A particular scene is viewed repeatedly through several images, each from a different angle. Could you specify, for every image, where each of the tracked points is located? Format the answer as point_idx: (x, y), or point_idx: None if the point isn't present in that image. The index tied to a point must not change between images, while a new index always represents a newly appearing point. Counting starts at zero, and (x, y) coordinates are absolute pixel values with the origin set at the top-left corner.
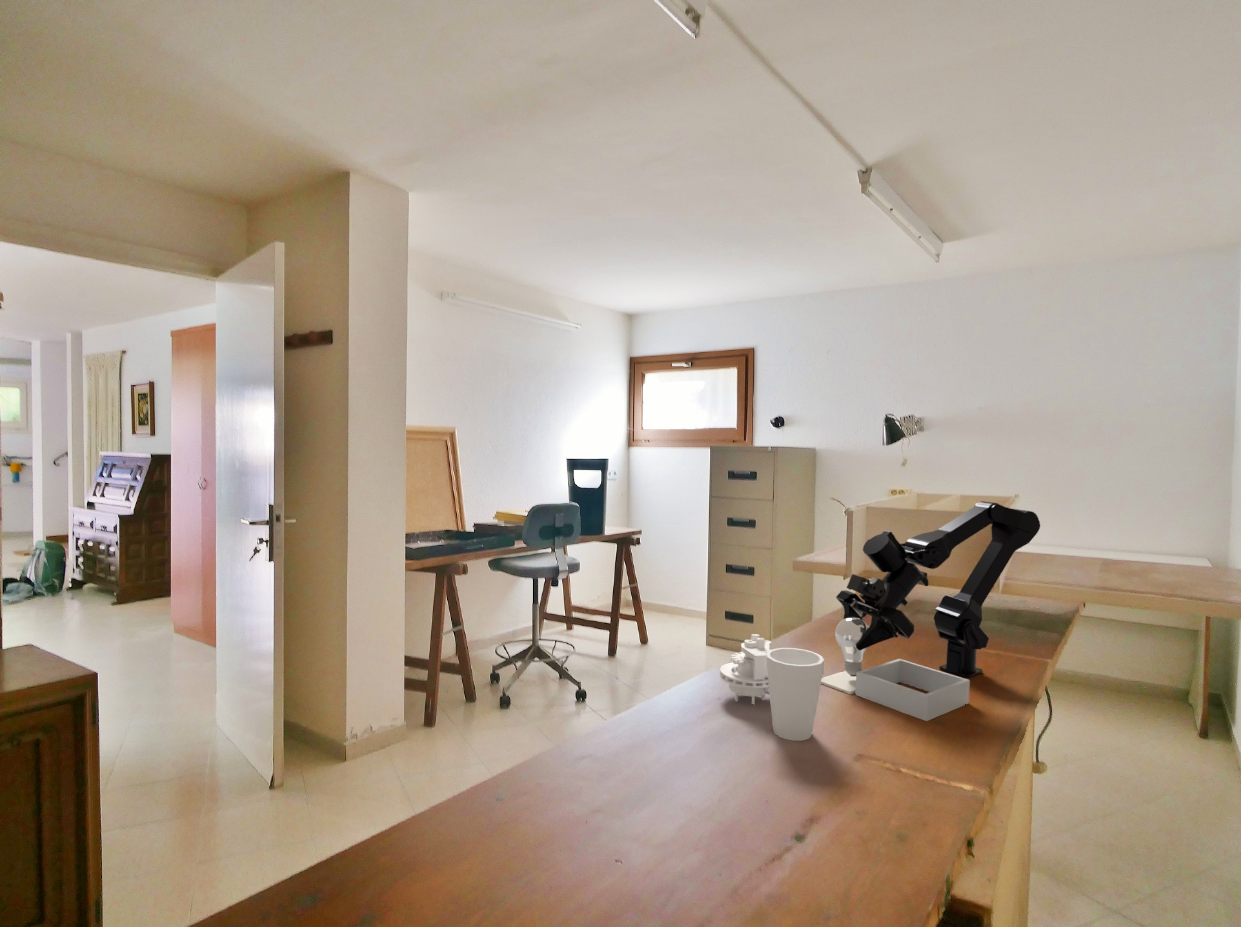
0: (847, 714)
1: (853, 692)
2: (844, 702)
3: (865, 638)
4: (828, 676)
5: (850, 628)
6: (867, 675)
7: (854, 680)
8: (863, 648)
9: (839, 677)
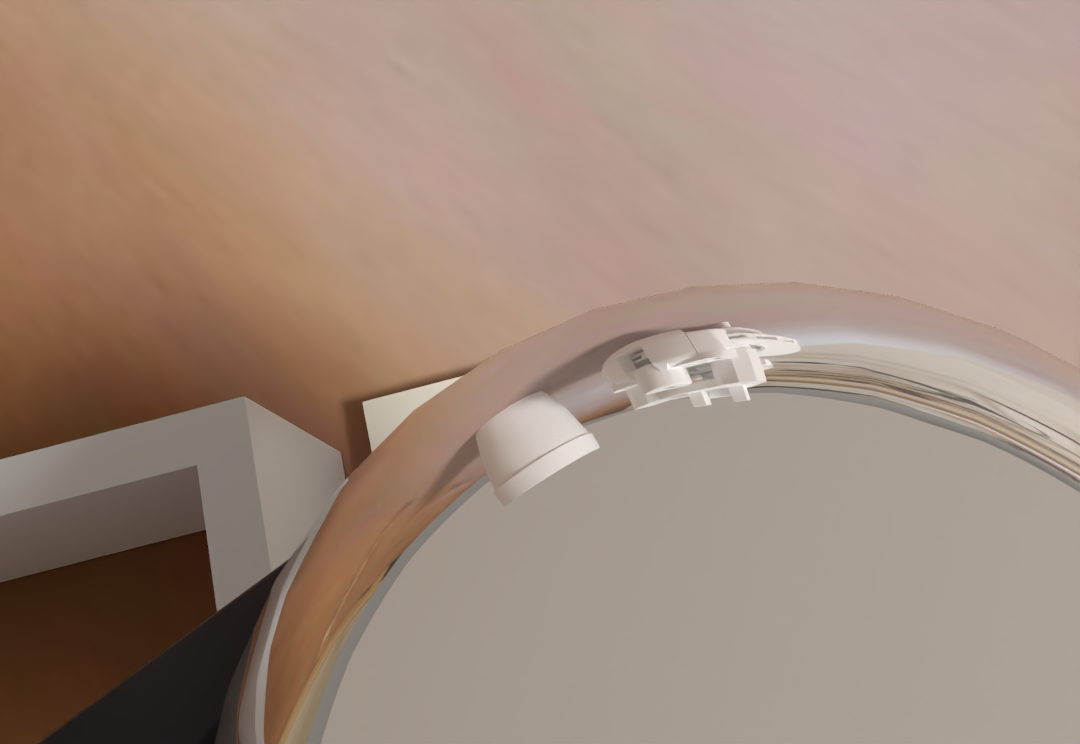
0: (53, 103)
1: None
2: (248, 234)
3: (103, 703)
4: None
5: (450, 421)
6: (82, 447)
7: None
8: None
9: None
